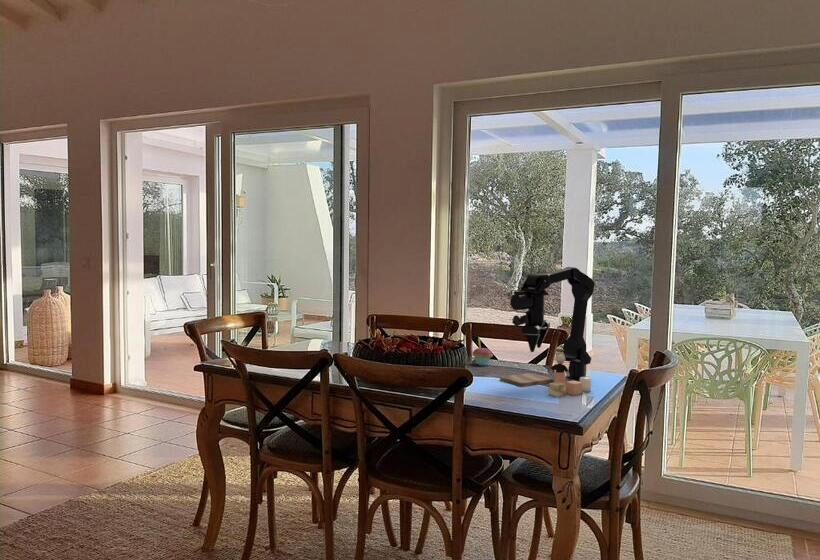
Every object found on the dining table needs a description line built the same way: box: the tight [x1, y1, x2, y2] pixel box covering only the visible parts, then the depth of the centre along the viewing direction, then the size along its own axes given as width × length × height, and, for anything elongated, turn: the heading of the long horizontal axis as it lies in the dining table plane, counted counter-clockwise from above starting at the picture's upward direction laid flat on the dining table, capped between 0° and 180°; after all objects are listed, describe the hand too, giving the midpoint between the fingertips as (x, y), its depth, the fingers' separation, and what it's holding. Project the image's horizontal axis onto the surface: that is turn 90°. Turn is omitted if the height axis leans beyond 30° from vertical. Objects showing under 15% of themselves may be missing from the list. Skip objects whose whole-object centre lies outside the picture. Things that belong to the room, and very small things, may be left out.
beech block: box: [548, 381, 567, 398], centre depth 228 cm, size 4×4×4 cm
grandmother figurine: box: [548, 354, 570, 384], centre depth 236 cm, size 8×4×13 cm, turn 65°
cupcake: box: [472, 335, 494, 366], centre depth 278 cm, size 9×8×12 cm
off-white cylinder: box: [579, 376, 592, 393], centre depth 235 cm, size 4×4×4 cm
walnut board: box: [499, 372, 554, 388], centre depth 248 cm, size 16×12×1 cm
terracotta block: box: [565, 380, 583, 396], centre depth 231 cm, size 4×4×4 cm
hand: (535, 349), depth 242 cm, fingers open, 9 cm apart
